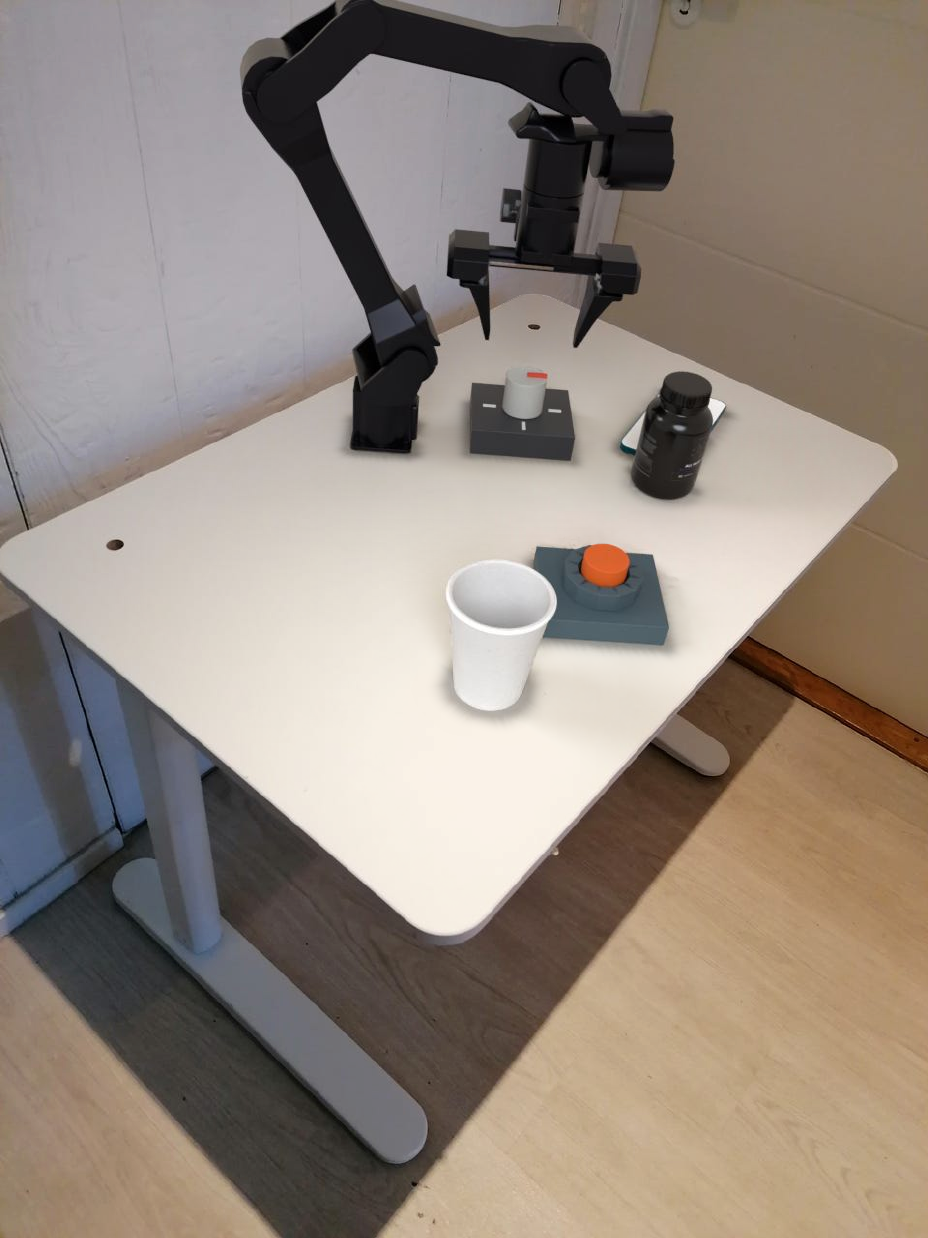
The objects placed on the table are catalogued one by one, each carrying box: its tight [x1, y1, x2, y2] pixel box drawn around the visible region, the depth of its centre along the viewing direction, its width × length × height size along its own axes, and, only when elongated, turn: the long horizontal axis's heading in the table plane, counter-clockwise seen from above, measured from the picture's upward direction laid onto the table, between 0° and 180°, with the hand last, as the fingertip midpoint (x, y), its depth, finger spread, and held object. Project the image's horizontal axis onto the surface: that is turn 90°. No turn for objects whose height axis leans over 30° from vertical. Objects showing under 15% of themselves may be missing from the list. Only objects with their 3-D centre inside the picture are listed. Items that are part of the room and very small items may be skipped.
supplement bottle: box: [630, 370, 713, 501], centre depth 99 cm, size 7×7×12 cm
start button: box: [581, 543, 630, 587], centre depth 85 cm, size 4×4×2 cm
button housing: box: [532, 544, 670, 646], centre depth 87 cm, size 11×10×4 cm
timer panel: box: [469, 382, 576, 462], centre depth 107 cm, size 11×10×3 cm
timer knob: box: [502, 365, 548, 419], centre depth 105 cm, size 4×4×4 cm
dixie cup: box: [445, 558, 557, 712], centre depth 76 cm, size 8×8×10 cm
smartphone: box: [619, 393, 727, 457], centre depth 111 cm, size 8×1×16 cm
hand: (530, 342), depth 101 cm, fingers open, 9 cm apart
